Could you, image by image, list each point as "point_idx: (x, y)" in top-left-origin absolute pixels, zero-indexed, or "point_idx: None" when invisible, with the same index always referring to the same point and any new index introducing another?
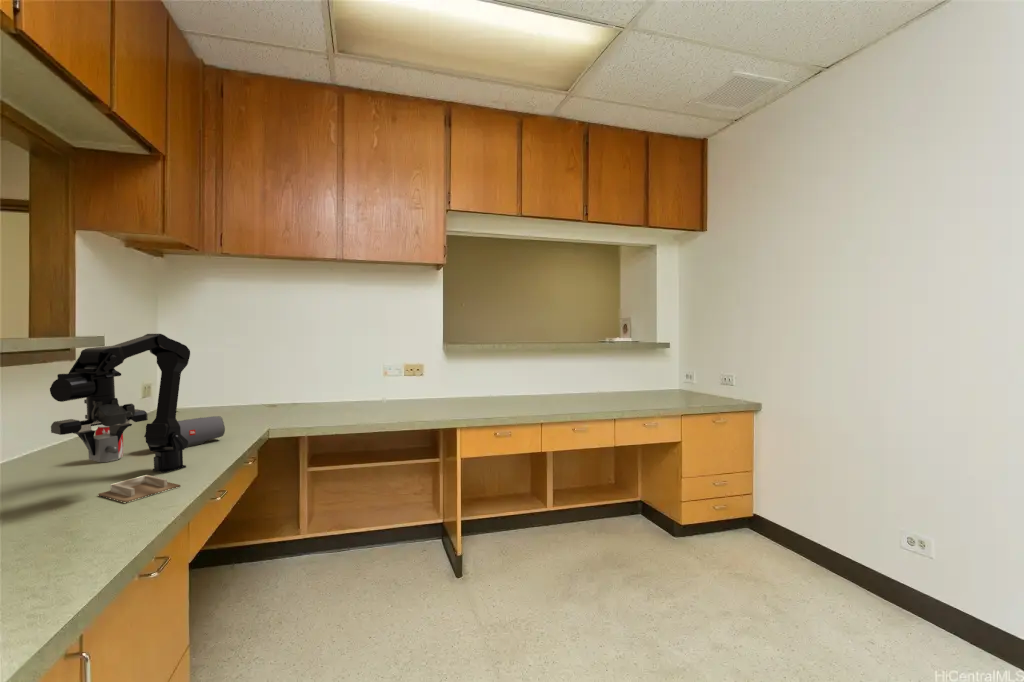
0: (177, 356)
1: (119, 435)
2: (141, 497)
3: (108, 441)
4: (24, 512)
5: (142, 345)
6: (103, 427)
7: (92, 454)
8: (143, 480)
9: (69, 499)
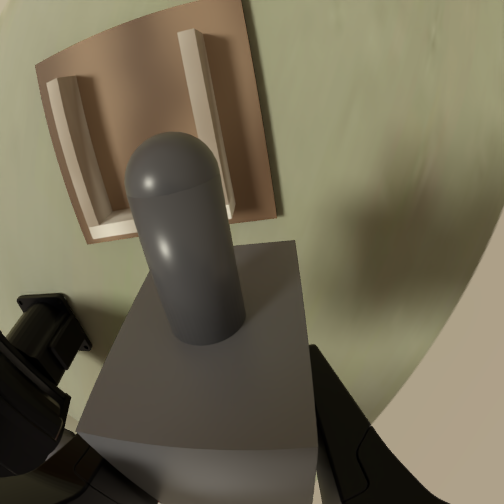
0: None
1: (79, 449)
2: (173, 8)
3: (191, 396)
4: (463, 239)
5: None
6: None
7: (317, 356)
8: (113, 215)
9: (349, 263)
